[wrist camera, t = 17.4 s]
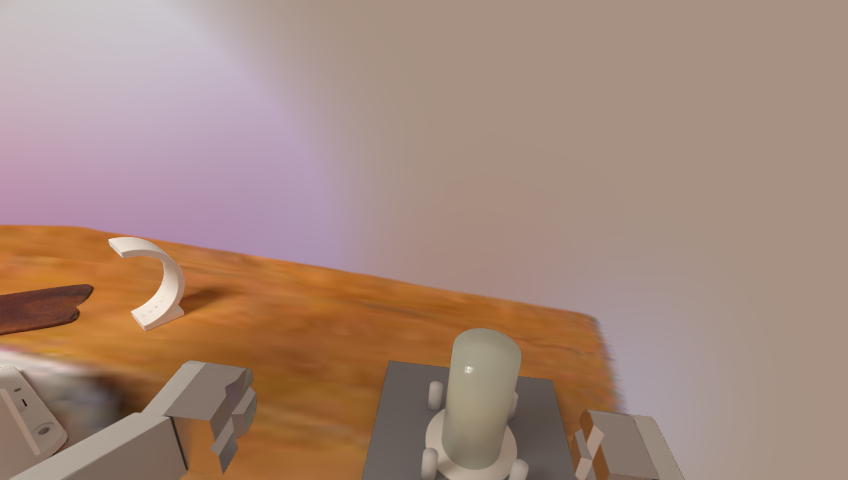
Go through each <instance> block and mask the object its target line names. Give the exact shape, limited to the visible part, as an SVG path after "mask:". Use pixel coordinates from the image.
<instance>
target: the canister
mask: <svg viewBox="0 0 848 480" xmlns="http://www.w3.org/2000/svg"><path fill="white" fill-rule="evenodd" d="M521 361H522V354H521V351H520V348H519V347H518V345H517V344H516V343H515V342H514V341H513V340H512V339H511V338H510V337H508V336H507V335H505V334H503V333H501V332H498V331H495V330H492V329H485V328H475V329H470V330H467V331H464V332H462V333H461V334H459V335H458V336H457V337H456V339H455V341H454V343H453V349H452V357H451V365H450V373H449V381H448V389H447V397H446V405H445V413H444V421H443V429H442V437H441V441H442V446H443V449H444V451H445V453H446V455H447V456H448V457H449V458H450V459H451V460H452V461H453V462H454V463H456V464H457V465H459V466H461V467H463V468H466V469H471V470H480V469H485V468H487V467H489V466H491V465H492V464H494V463H495V462H496V460H497V459H498V457H499V455H500V452H501V447H502V443H503V439H504V434H505V430H506V426H507V421H508V417H509V413H510V408H511V404H512V400H513V395H514V391H515V387H516V382H517V378H518V374H519V369H520V365H521Z"/></svg>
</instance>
